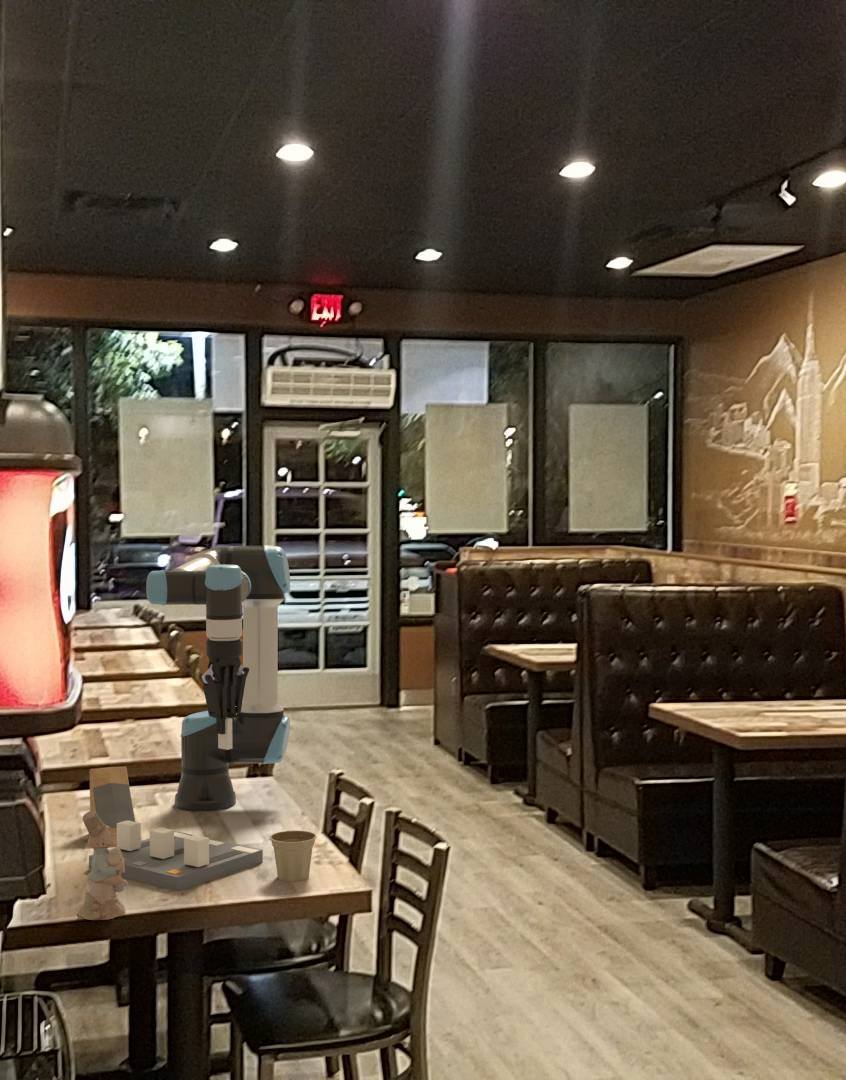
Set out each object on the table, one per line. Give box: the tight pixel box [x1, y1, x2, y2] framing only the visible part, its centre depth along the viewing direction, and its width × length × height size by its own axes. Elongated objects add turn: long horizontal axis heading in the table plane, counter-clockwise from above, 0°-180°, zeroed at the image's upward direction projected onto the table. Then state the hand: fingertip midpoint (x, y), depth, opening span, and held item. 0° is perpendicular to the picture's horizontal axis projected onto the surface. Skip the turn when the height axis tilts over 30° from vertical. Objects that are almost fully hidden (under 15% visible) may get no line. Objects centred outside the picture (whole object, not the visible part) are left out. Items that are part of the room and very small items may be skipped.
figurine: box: [77, 810, 129, 921], centre depth 230 cm, size 9×8×20 cm
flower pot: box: [269, 829, 318, 882], centre depth 253 cm, size 9×9×9 cm
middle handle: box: [149, 827, 175, 859], centre depth 258 cm, size 3×4×5 cm
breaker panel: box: [88, 830, 264, 892], centre depth 261 cm, size 24×26×3 cm
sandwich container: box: [89, 766, 136, 849], centre depth 283 cm, size 9×15×15 cm, turn 24°
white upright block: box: [184, 834, 210, 867], centre depth 252 cm, size 3×4×5 cm
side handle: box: [116, 820, 142, 851], centre depth 264 cm, size 3×4×5 cm
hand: (225, 748), depth 268 cm, fingers closed
